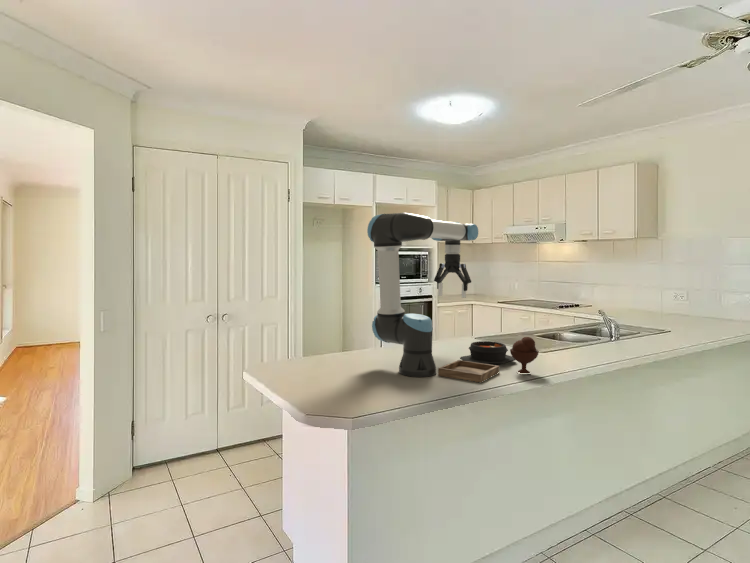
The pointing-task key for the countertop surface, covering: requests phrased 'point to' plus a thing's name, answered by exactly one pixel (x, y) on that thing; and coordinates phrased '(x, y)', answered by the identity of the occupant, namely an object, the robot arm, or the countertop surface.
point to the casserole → (488, 353)
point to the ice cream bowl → (524, 352)
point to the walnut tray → (468, 370)
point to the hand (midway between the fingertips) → (451, 296)
